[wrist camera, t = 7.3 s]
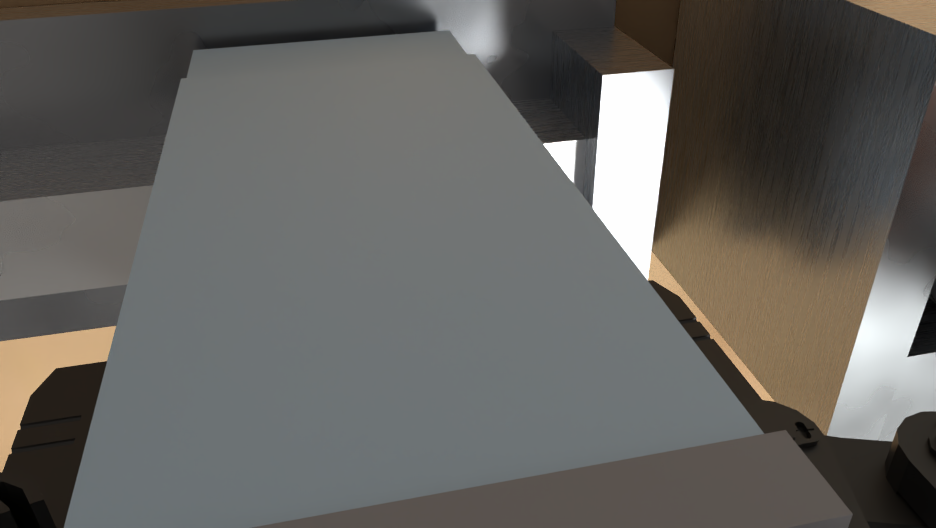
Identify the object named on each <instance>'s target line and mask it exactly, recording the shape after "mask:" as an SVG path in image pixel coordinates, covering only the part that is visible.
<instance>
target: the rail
mask: <svg viewBox="0 0 936 528" xmlns="http://www.w3.org/2000/svg"><path fill="white" fill-rule="evenodd" d="M615 10H616V0H117V1H102V2H87V3H72V4H56V5H41V6H26V7H11V8H0V341H6V340H13V339H20V338H28V337H35V336H43V335H50V334H57V333H65V332H72V331H80V330H87V329H95V328H102V327H109V326H117V322H118V318H119V314H120V310H121V307H122V303H123V299H124V295H125V291H126V287H127V284H128V280H129V276H130V272H131V268H132V264H133V261H134V257H135V253H136V249H137V245H138V241H139V238H140V234H141V230H142V226H143V222H144V218H145V215H146V211H147V207H148V203H149V199H150V195H151V192H152V188H153V184H154V180H155V176H156V173H157V169H158V165H159V161H160V157H161V153H162V150H163V146H164V142H165V138H166V134H167V130H168V127H169V123H170V119H171V115H172V111H173V107H174V104H175V100H176V96H177V92H178V88H179V84H180V81H181V78H187V74H188V70H189V66H190V62H191V57H192V53H193V50H202V49H215V48H228V47H241V46H253V45H266V44H279V43H292V42H305V41H317V40H330V39H343V38H356V37H369V36H382V35H394V34H407V33H420V32H433V31H446V30H450V32H451V33H452V35H453V36H454V37H455V39H456V40H457V41H458V43H459V44H460V45H461V47H462V48H463V50H464V51H465V52H466V54H475V55H476V56H477V58H478V59H479V60H480V61H481V63H482V64H483V65H484V67H485V68H486V69H487V71H488V72H489V73H490V75H491V76H492V77H493V79H494V80H495V81H496V82H497V84H498V85H499V86H500V88H501V89H502V90H503V92H504V93H505V94H506V96H507V97H508V98H509V100H510V101H511V102H512V103H513V105H514V106H515V107H516V109H517V110H518V111H519V113H520V114H521V115H522V117H523V118H524V119H525V120H526V122H527V123H528V124H529V126H530V127H531V128H532V130H533V131H534V132H535V134H536V135H537V136H538V138H539V139H540V140H541V141H542V143H543V144H544V145H545V147H546V148H547V149H548V151H549V152H550V153H551V155H552V156H553V157H554V159H555V160H556V161H557V162H558V164H559V165H560V166H561V168H562V169H563V170H564V172H565V173H566V174H567V176H568V177H569V178H570V179H571V181H572V182H573V183H574V185H575V186H576V187H577V189H578V190H579V191H580V193H581V194H582V195H583V197H584V198H585V199H586V200H587V202H588V203H589V204H590V206H591V207H592V208H593V210H594V211H595V212H596V214H597V215H598V216H599V218H600V219H601V220H602V221H603V223H604V224H605V225H606V227H607V228H608V229H609V231H610V232H611V233H612V235H613V236H614V237H615V239H616V240H617V241H618V242H619V244H620V245H621V246H622V248H623V249H624V250H625V252H626V253H627V254H628V256H629V257H630V258H631V259H632V261H633V262H634V263H635V265H636V266H637V267H638V269H639V270H640V271H641V273H642V274H643V275H644V277H645V278H646V279H647V280H648V274H649V266H650V258H651V250H652V242H653V234H654V226H655V218H656V210H657V202H658V194H659V186H660V178H661V170H662V162H663V154H664V146H665V138H666V130H667V122H668V114H669V106H670V98H671V90H672V82H673V74H674V68H672V67H671V66H669V65H668V64H667V63H665V62H664V61H662V60H661V59H660V58H658V57H657V56H655V55H654V54H653V53H651V52H650V51H648V50H647V49H646V48H644V47H643V46H641V45H640V44H639V43H637V42H636V41H634V40H633V39H632V38H630V37H629V36H627V35H626V34H625V33H623V32H622V31H621V30H619V29H618V28H616V27H615V26H614V22H615Z"/></svg>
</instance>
